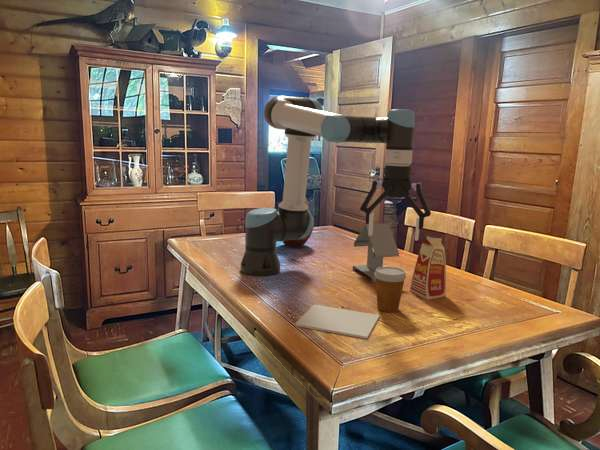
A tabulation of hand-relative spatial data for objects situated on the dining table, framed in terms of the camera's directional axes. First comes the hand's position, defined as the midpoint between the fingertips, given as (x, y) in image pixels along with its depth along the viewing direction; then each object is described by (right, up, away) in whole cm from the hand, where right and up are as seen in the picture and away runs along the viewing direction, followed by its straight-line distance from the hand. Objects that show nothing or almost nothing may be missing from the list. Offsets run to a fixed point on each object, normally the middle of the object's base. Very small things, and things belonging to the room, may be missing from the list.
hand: (393, 237), depth 136 cm
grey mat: (-17, -23, -7) cm, 30 cm away
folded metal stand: (0, -16, +38) cm, 41 cm away
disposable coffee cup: (-1, -22, +4) cm, 22 cm away
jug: (-30, -6, +81) cm, 87 cm away
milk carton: (+16, -20, +19) cm, 32 cm away
